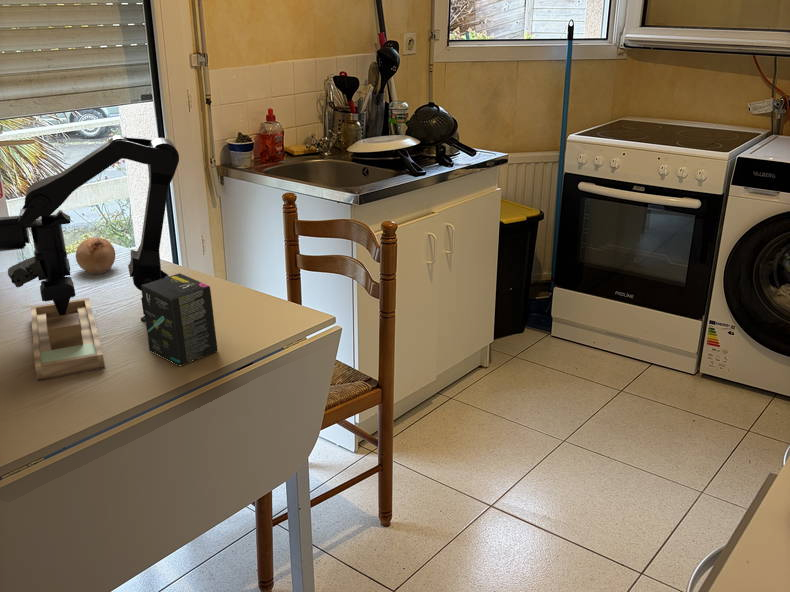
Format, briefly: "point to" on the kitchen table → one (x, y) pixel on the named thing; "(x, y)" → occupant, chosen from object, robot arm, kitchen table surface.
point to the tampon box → (179, 318)
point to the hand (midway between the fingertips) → (62, 315)
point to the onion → (95, 255)
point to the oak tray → (43, 344)
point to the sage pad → (67, 352)
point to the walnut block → (64, 331)
